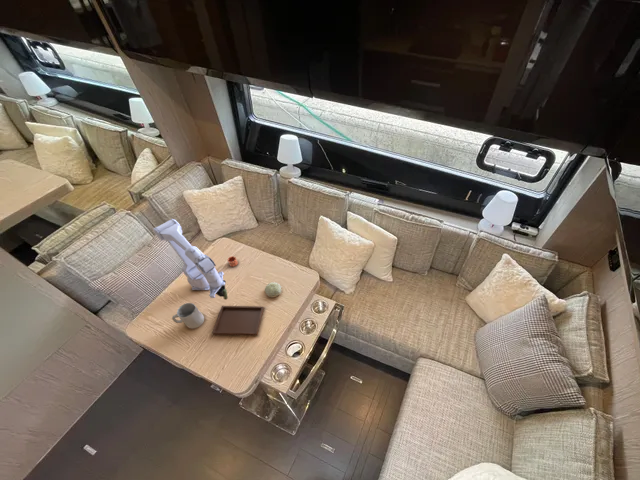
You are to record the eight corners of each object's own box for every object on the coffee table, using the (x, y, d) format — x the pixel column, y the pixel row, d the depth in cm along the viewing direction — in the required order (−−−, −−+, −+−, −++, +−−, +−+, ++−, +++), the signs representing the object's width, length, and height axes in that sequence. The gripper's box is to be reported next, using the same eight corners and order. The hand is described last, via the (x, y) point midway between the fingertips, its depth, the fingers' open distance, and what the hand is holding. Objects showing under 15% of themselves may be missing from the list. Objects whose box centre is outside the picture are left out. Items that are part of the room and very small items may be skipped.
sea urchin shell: (268, 300, 149) (262, 286, 147) (267, 298, 156) (262, 285, 155) (284, 293, 151) (279, 280, 150) (283, 292, 159) (278, 279, 158)
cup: (228, 266, 165) (226, 262, 162) (231, 260, 168) (228, 256, 165) (236, 266, 165) (234, 262, 162) (238, 260, 168) (236, 256, 165)
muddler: (223, 300, 142) (221, 291, 137) (224, 296, 144) (222, 288, 138) (227, 300, 143) (225, 292, 137) (228, 297, 144) (227, 288, 138)
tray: (213, 334, 137) (212, 333, 135) (223, 307, 147) (221, 305, 145) (257, 335, 137) (256, 333, 136) (264, 308, 147) (263, 306, 146)
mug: (203, 311, 145) (195, 300, 136) (205, 325, 140) (196, 314, 131) (178, 319, 142) (168, 308, 133) (179, 333, 137) (168, 322, 128)
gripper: (216, 290, 125) (226, 306, 135) (226, 266, 134) (234, 282, 145) (200, 290, 125) (211, 306, 135) (211, 265, 134) (221, 282, 145)
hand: (222, 294), depth 140 cm, fingers closed on muddler, 2 cm apart
